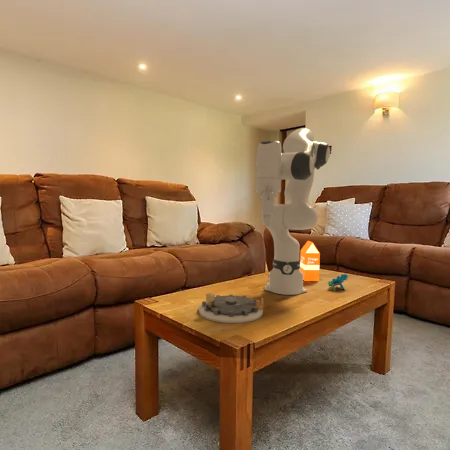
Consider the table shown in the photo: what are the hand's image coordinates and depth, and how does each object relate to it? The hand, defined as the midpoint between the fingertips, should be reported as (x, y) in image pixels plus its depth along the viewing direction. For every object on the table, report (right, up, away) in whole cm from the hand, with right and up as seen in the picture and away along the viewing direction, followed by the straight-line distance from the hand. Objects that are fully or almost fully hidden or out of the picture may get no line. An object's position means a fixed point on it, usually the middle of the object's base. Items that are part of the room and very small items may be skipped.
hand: (266, 226), depth 116 cm
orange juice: (+29, -28, +56) cm, 69 cm away
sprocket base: (-13, -31, +3) cm, 33 cm away
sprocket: (-13, -29, +3) cm, 32 cm away
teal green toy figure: (+38, -30, +39) cm, 62 cm away
